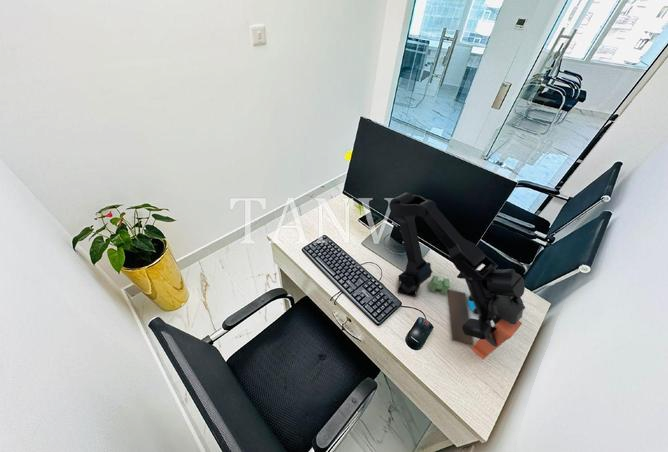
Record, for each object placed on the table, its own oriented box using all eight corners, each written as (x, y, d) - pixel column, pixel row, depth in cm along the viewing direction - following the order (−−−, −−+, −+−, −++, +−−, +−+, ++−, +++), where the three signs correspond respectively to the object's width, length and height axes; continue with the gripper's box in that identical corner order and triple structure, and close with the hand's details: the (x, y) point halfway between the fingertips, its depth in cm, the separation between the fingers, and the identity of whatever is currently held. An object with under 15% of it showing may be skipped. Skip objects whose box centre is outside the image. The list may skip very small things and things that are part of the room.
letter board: (452, 339, 83) (453, 338, 82) (447, 290, 97) (448, 289, 96) (471, 345, 82) (472, 344, 81) (464, 294, 96) (465, 293, 96)
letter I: (470, 348, 78) (496, 324, 67) (481, 336, 81) (507, 311, 70) (482, 360, 76) (511, 336, 65) (493, 347, 79) (522, 323, 68)
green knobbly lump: (445, 294, 96) (450, 286, 92) (429, 290, 97) (433, 282, 93) (444, 286, 98) (449, 279, 95) (429, 283, 99) (433, 275, 96)
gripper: (494, 315, 59) (515, 373, 61) (528, 277, 68) (546, 329, 69) (452, 307, 69) (471, 357, 70) (487, 275, 78) (503, 320, 79)
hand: (499, 340), depth 72 cm, fingers closed on letter I, 5 cm apart
